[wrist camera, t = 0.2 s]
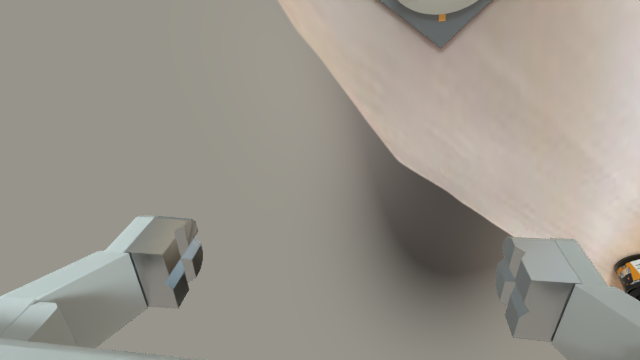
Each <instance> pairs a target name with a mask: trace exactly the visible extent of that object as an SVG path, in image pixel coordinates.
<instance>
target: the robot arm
mask: <svg viewBox="0 0 640 360" xmlns="http://www.w3.org/2000/svg"><path fill="white" fill-rule="evenodd" d="M197 232H198V228H197V225H196V221H194V220H193V219H189V218H175V217H162V216H158V217H157V216H148V215H147V216H146V215H141V216H138V217H136V218H135V219H134V220H133V222H132V223H131V224H130V225H129V226H128V227H127V228H126V229H125V230H124V231H123V232H122V233H121V234H120V235H119V237H117V238H116V240H115V241H114V242H113V243H112V244H111V245H110V246H109V247H108V248H107V249H106V250H105V251H98V252H96V253H93V254H91V255H89V256H87V257H85V258H83V259H80V260H78V261H76V262H74V263H72V264H70V265H68V266H65V267H64V268H61V269H59V270H57V271H55V272H52V273H50V274H48V275H46V276H44V277H42V278H40V279H37V280H35V281H33V282H31V283H29V284H27V285H24V286H22V287H20V288H18V289H16V290H13V291H11V292H9V293H7V294H5V295H3V296H1V297H0V360H203V359H194V358H184V357H174V356H165V355H156V354H146V353H136V352H127V351H116V350H107V349H98V348H96V347H98V346H99V345H100V344H101V343H103V342H104V341H105V340H106V339H108V338H109V337H111V336H112V335H113V334H114V333H116V332H117V331H119V330H120V329H121V328H123V327H124V326H125V325H127V324H128V323H129V322H130V321H132V320H133V319H134V318H136V317H137V316H138V315H140V314H141V313H142V312H144V311H145V310H146V309H148V307H161V308H179V306H180V305H181V303H182V301H183V300H184V298H185V296H186V294H187V293H188V291H189V287H188V282H190V281H192V280H193V279H195V278H196V277H197V275H198V273H199V271H200V269H201V265H202V261H203V251H202V246H201V244H200V243H199V242H198V241H197V240H196V239H195V236H196V234H197ZM502 252H503V254H504V257H505V258H504V259H503V260H502V261H501V262H499V263H498V266H497V271H496V289H497V294H498V297H499V300H500V301H501V302H502V303H503V304H504V305H505V306H507V309H506V313H505V317H506V319H507V323H508V325H509V328H510V331H511V334H512V336H513V338H519V339H528V340H537V341H546V342H552V345H553V346H554V347H555V348H556V349H557V350H558V351H559V352H560V353H561V354H562V355H563V356H564V357H565V358H566V359H567V360H640V301H639V300H637V299H635V298H634V297H632V296H630V295H629V294H627V293H625V292H624V291H622V290H620V289H619V288H617V287H611V286H608V285H607V283H606V282H605V280H604V279H603V278H602V276H601V275H600V273H599V272H598V271H597V269H596V268H595V266H594V265H593V263H592V262H591V261H590V259H589V258H588V256H587V255H586V254H585V252H584V251H583V249H582V248H581V246H580V245H579V244H578V242H577V241H575V240H573V239H557V238H550V239H541V238H521V237H506V239H505V241H504V243H503V247H502Z"/></svg>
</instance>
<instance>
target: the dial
mask: <svg viewBox="0 0 640 360" xmlns="http://www.w3.org/2000/svg"><path fill="white" fill-rule="evenodd" d="M398 1H399V2H400V3H401V4H403V5H404V6H406V7H407V8H409V9H411V10H413V11H416V12H419V13H424V14H432V15H439V14H447V13H452V12H455V11H459V10H461V9H464V8H466V7H468V6H470V5H472V4H473V3H475V2H477V1H478V0H398Z"/></svg>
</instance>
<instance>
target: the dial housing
mask: <svg viewBox="0 0 640 360" xmlns="http://www.w3.org/2000/svg"><path fill="white" fill-rule="evenodd" d="M380 1H381V2H383V3H384V4H385V5H386V6H388V7H389V8H390V9H391V10H393V11H394V12H395V13H397V14H398V15H399V16H400V17H402V18H403V19H404V20H405V21H407V22H408V23H409V24H411V25H412V26H413V27H414V28H416V29H417V30H418V31H419V32H421V33H422V34H423V35H425V36H426V37H427V38H428V39H430V40H431V41H432V42H433V43H435V44H436V45H437V46H439V47H440V48H442V47H443V46H444V45H445V44H446V43H447V42H448V41H449V40H450V39H451V38H452V37H453V36H454V35H455V34H456V33H457V32H458V31H459V30H461V29H462V28H463V27H464V26H465V25H466V24H467V23H468V22H469V21H470V20H471V19H472V18H473V17H474V16H475V15H476V14H477V13H478V12H479V11H480V10H481V9H483V8H484V7H485V6H486V5H487V4H488V3H489V2H490V1H491V0H478V1H477V2H475V3H473V4H472V5H470V6H468V7H466V8H464V9H461V10H459V11H455V12H452V13H447V14H439V15H432V14H424V13H419V12H416V11H413V10H411V9H409V8H407V7H406V6H404V5H403V4H401V3H400V2H399V1H398V0H380Z"/></svg>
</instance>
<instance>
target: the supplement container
mask: <svg viewBox="0 0 640 360" xmlns="http://www.w3.org/2000/svg"><path fill="white" fill-rule="evenodd" d="M615 270H616V273H617V275H618V277H619V279H620V281H621V284H622V286H623V288H624V290H625V293H627V294H629V295H630V296H632V297H634V298H635V299H637V300H639V301H640V254H637V255H633V256H629V257H627V258H624V259H623V260H621V261H620V262H619V263H618V264H617V265H616V267H615Z"/></svg>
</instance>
